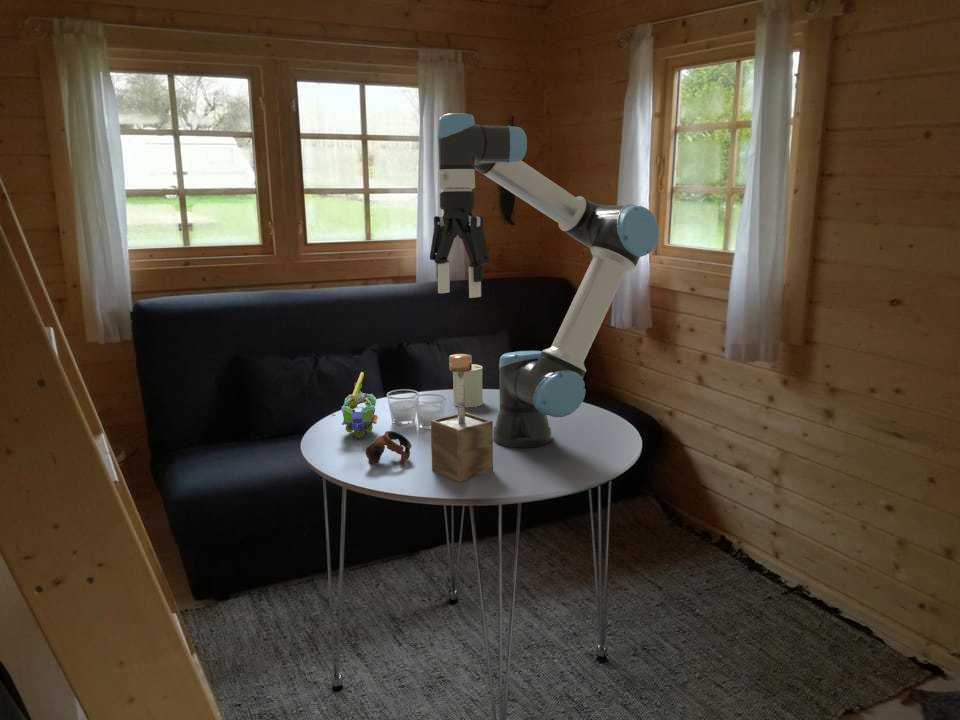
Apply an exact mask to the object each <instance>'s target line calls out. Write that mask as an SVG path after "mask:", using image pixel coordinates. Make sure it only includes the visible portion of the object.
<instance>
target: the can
mask: <svg viewBox="0 0 960 720" xmlns="http://www.w3.org/2000/svg"><path fill="white" fill-rule="evenodd" d="M452 380H453V381H452V383H453V384H452V385H453V387H452V390H453V393H452V394H453V403H452V404H453V406H454V405H455V406H454V407H456V406H458V393H457V372H453V371H452ZM464 387H465V407H466V408H465V409H468V408H467V407H475V408H478V407H477V406H479V407H481V406H483V405H484V402H483V401H484V400H483V395H484V394H483V366H482V365H480V364H476V363H474V364H473V363H472V370H470V371H466V372H464ZM482 404H483V405H482ZM480 405H481V406H480Z"/></svg>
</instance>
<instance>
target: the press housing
mask: <svg viewBox="0 0 960 720" xmlns="http://www.w3.org/2000/svg"><path fill="white" fill-rule="evenodd" d="M465 416H466V417H469V418H472V419H475V420H478V421H482V422H484V423H480V424H476V425H473V426H469V427H465V428H462V429H457V428H454V427H451V426H448V425H446V424H443V423H440V422H441V421H445V420H449V419H453V418H457V417H458V413H455V414H450V415H446V416H443V417H439V418H434V419H431V420H430V439H431V440H430V442H431V444H430V446H431V471H433V472H435V473H438V474H440V475H442V476H444V477H446V478H449V479H452V480H453V481H456V482H458V483H461V482H464V481H467V480H470V479H473V478H477V477H479V476H482V475H485V474H489V473H491V472H493V471H494V444H493V443H494V442H493V441H494V439H493V429H494V427H493V424H494V422H493V420H490V419H487V418H484V417H482V416H479V415H476V414H472V413H469V412H466V411H465Z"/></svg>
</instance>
